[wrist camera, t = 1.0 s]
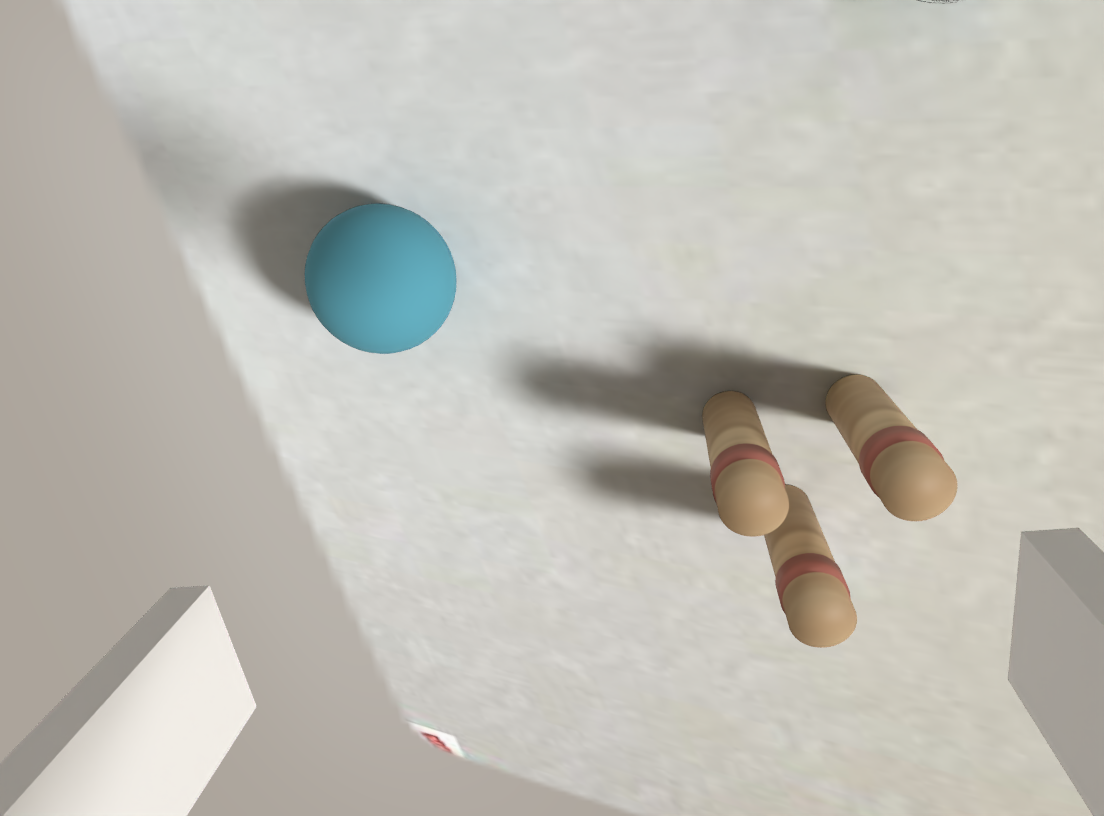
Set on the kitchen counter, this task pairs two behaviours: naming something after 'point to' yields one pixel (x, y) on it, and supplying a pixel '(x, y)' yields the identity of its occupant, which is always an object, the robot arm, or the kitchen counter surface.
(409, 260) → the ball
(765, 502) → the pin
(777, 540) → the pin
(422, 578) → the kitchen counter surface
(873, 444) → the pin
